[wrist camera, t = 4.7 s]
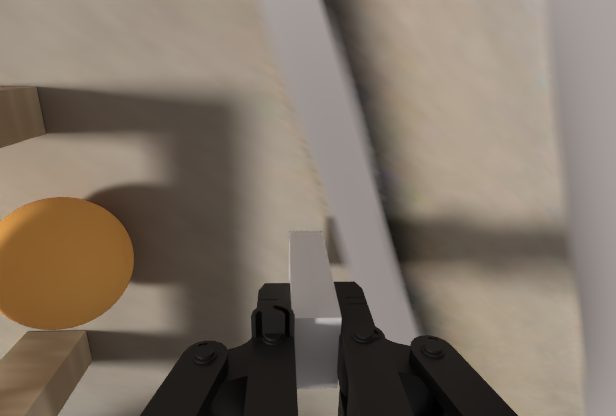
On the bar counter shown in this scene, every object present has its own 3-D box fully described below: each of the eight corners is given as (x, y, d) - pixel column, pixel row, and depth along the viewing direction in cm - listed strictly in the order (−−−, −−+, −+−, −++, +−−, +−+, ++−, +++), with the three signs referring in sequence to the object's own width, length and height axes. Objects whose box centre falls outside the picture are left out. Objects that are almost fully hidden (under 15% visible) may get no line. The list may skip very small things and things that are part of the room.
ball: (25, 289, 20) (145, 276, 21) (-27, 371, 15) (133, 347, 16) (-3, 183, 18) (132, 177, 19) (-73, 237, 13) (115, 224, 14)
